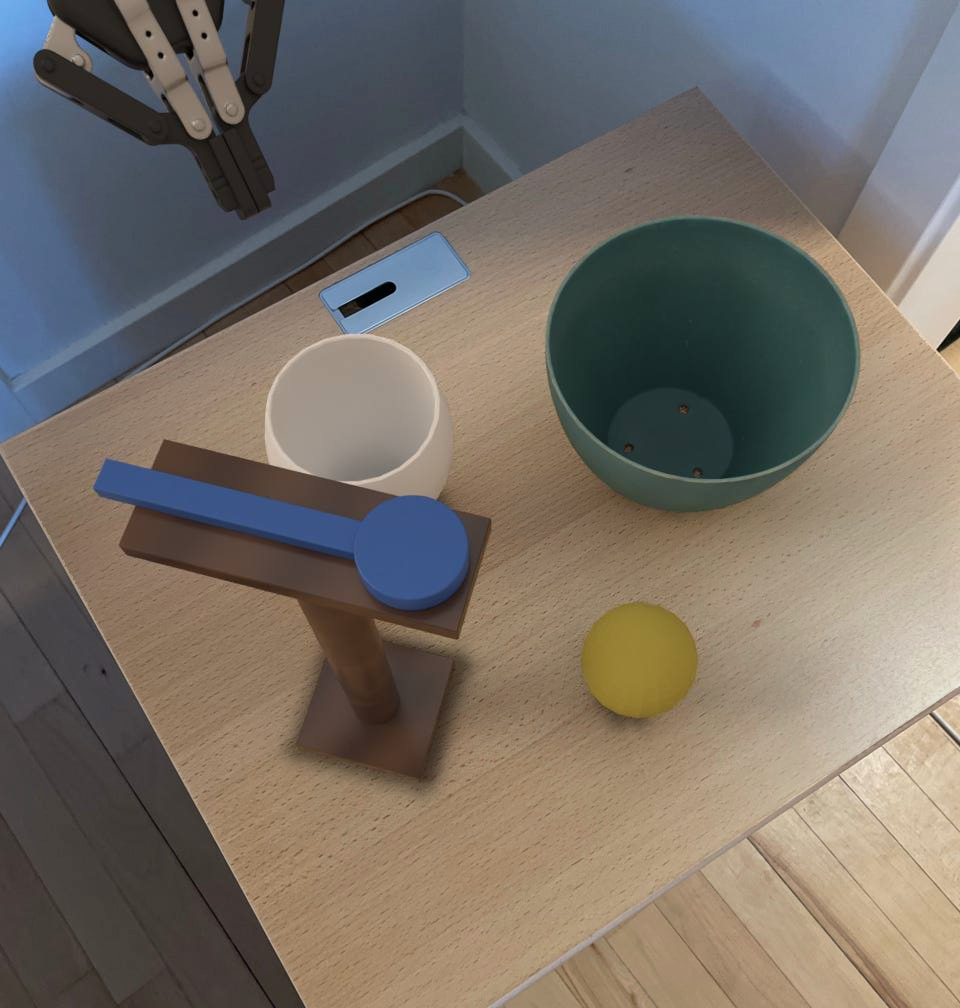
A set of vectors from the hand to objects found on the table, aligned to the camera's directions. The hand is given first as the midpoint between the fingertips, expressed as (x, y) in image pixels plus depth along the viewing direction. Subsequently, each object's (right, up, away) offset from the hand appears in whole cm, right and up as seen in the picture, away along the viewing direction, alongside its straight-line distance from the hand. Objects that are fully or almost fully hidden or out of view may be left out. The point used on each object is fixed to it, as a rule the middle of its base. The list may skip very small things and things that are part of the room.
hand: (256, 212), depth 50 cm
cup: (+4, -13, +19) cm, 24 cm away
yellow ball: (+20, -24, +15) cm, 35 cm away
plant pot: (+24, -8, +21) cm, 33 cm away
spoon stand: (+4, -25, +15) cm, 30 cm away
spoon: (+4, -17, -9) cm, 19 cm away
